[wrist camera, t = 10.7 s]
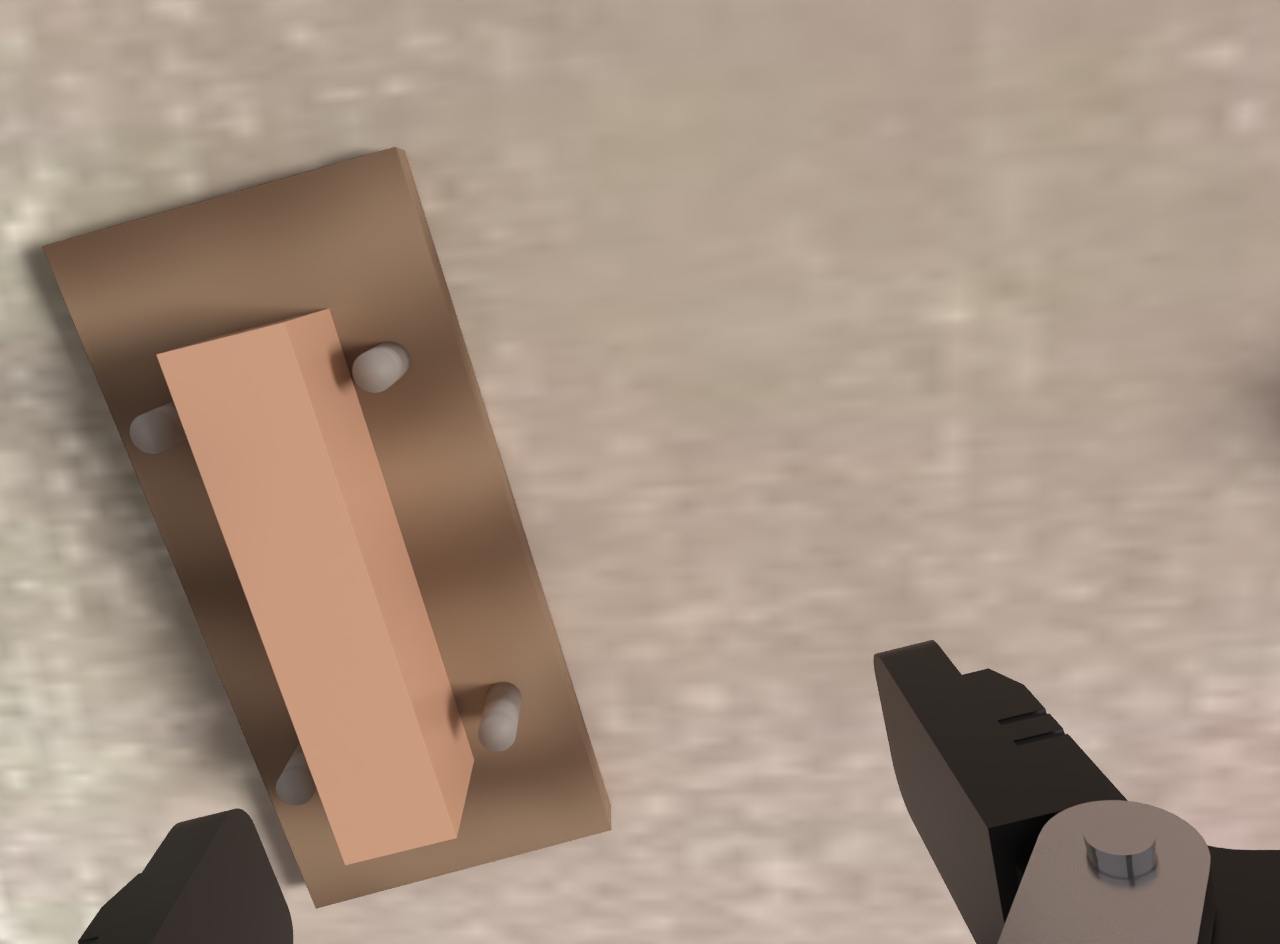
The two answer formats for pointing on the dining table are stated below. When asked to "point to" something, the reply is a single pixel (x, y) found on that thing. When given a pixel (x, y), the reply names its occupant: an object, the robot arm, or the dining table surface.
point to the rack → (411, 467)
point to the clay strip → (327, 579)
